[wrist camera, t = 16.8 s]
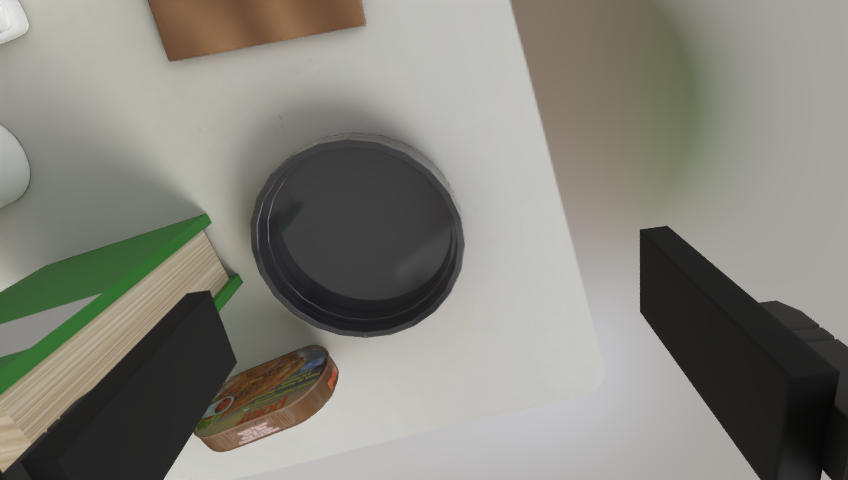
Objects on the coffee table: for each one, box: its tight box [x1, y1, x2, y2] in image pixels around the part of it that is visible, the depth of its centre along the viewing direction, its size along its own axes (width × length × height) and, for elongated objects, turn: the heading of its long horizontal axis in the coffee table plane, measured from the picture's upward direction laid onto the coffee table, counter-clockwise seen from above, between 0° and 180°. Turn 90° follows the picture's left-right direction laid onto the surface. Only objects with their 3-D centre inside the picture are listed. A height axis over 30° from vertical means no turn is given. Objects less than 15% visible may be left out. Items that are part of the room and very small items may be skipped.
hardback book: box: [0, 214, 243, 472], centre depth 37 cm, size 18×7×24 cm, turn 108°
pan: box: [251, 133, 465, 338], centre depth 44 cm, size 18×18×4 cm
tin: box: [193, 346, 339, 452], centre depth 48 cm, size 15×3×8 cm, turn 115°
